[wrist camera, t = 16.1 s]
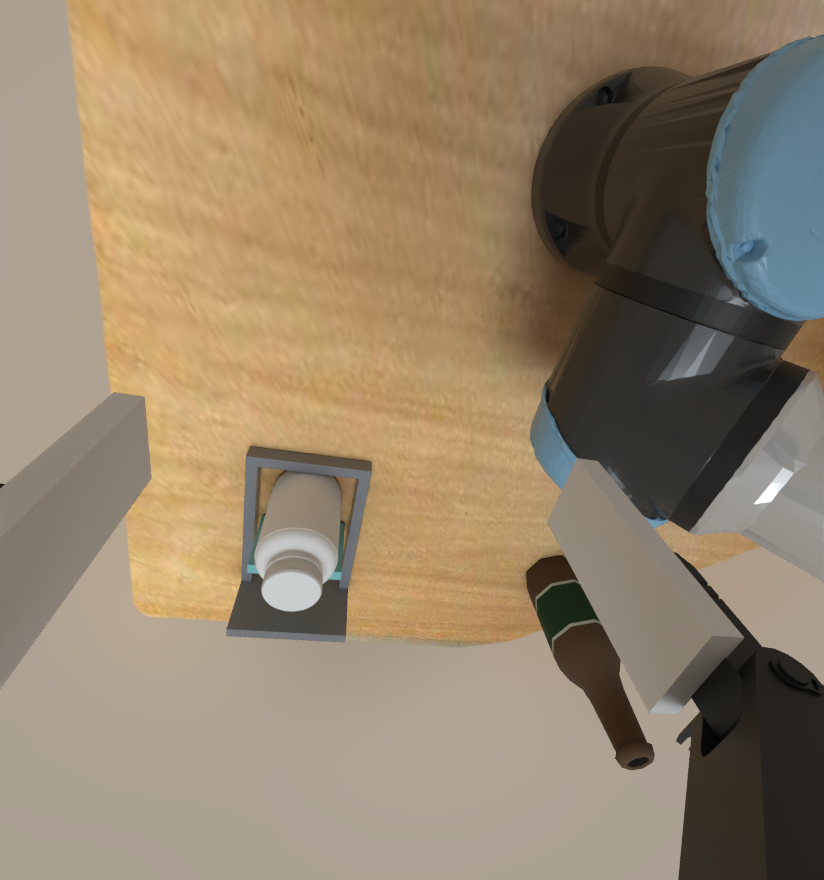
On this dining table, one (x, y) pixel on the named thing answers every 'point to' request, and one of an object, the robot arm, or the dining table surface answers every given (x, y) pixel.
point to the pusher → (338, 570)
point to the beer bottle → (586, 655)
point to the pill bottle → (299, 539)
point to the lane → (331, 608)
